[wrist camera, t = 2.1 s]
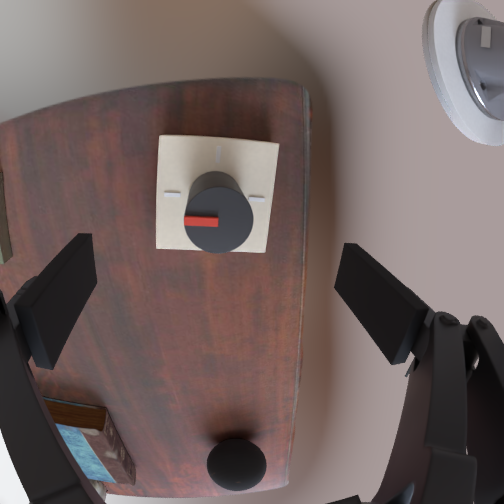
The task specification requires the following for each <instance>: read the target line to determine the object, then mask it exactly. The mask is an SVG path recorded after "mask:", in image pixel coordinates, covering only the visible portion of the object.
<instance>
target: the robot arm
mask: <svg viewBox="0 0 504 504" xmlns="http://www.w3.org/2000/svg"><path fill="white" fill-rule="evenodd" d="M455 47H456V56H457V62H458V66H459V70H460V73H461V76H462V79H463V82H464V84H465V87H466V89H467V91H468V93H469V95H470V97H471V98H472V100H473V102H474V103H475V105H476V106H477V107H478V108H479V110H480V111H481V112H482V113H483V114H484V115H486V116H487V117H489V118H491V119H494V120H501V121H504V23H503V22H500V21H496V20H491V19H487V18H482V17H474V18H469V19H465V20H464V21H462V22H461V23H460V25H459V26H458V29H457V32H456V39H455ZM96 284H97V276H96V269H95V261H94V252H93V242H92V234H87V233H78V234H77V235H76V236H75V237H74V238H73V239H72V240H71V241H70V242H69V243H68V244H67V245H66V246H65V247H64V248H63V249H62V250H61V251H60V253H59V254H58V255H57V256H56V257H55V258H54V259H53V260H52V261H51V262H50V263H49V264H48V265H47V266H46V267H45V269H44V270H43V271H42V272H41V273H40V274H39V275H38V276H34V277H33V278H31V279H30V280H28V281H26V282H25V284H24V285H23V286H22V287H21V289H19V290H18V291H17V293H16V295H14V296H13V297H12V298H11V300H10V301H9V302H8V303H7V304H6V303H5V300H4V297H3V293H2V291H1V290H0V429H1V433H2V436H3V439H4V442H5V444H6V447H7V450H8V452H9V455H10V458H11V460H12V463H13V465H14V467H15V470H16V472H17V474H18V477H19V479H20V481H21V483H22V485H23V488H24V490H25V492H26V494H27V496H28V498H29V501H30V503H29V504H106V503H105V502H104V500H103V499H102V498H101V496H100V495H99V494H98V492H97V491H96V489H95V488H94V487H93V485H92V484H91V482H90V481H89V480H88V478H87V477H86V475H85V474H84V472H83V471H82V469H81V467H80V466H79V464H78V463H77V461H76V460H75V458H74V456H73V455H72V453H71V451H70V450H69V448H68V446H67V444H66V443H65V441H64V439H63V437H62V436H61V434H60V432H59V430H58V428H57V426H56V424H55V422H54V420H53V418H52V416H51V414H50V412H49V410H48V408H47V406H46V404H45V402H44V400H43V397H42V395H41V393H40V390H39V388H38V386H37V383H36V381H35V379H34V376H33V373H32V371H31V368H30V366H29V364H28V361H29V359H30V357H31V355H32V357H33V360H34V362H35V364H36V367H40V368H45V369H50V370H53V369H54V367H55V364H56V362H57V360H58V358H59V356H60V353H61V351H62V349H63V347H64V345H65V343H66V341H67V339H68V337H69V335H70V333H71V331H72V329H73V327H74V325H75V323H76V321H77V319H78V317H79V315H80V313H81V311H82V310H83V308H84V306H85V304H86V302H87V300H88V298H89V297H90V295H91V293H92V291H93V290H94V288H95V286H96ZM334 288H335V290H336V291H337V292H338V293H339V295H340V296H341V297H342V299H343V300H344V301H345V303H346V304H347V305H348V307H349V308H350V309H351V310H352V312H353V313H354V315H355V316H356V317H357V319H358V320H359V321H360V323H361V324H362V325H363V327H364V328H365V329H366V331H367V332H368V333H369V335H370V336H371V338H372V339H373V340H374V342H375V343H376V344H377V346H378V347H379V348H380V350H381V351H382V353H383V354H384V355H385V357H386V358H387V360H388V361H389V362H390V364H391V365H395V364H400V363H405V361H406V359H407V357H408V355H409V353H410V351H411V352H412V353H413V354H414V356H415V357H414V360H413V361H412V363H411V365H410V367H409V369H408V371H407V373H406V375H405V377H407V376H408V374H410V375H409V381H408V386H407V392H406V397H405V402H404V406H403V411H402V415H401V419H400V423H399V428H398V431H397V435H396V439H395V443H394V446H393V449H392V453H391V456H390V460H389V463H388V466H387V469H386V472H385V475H384V478H383V481H382V483H381V486H380V488H379V491H378V492H377V494H376V495H375V497H374V498H373V499H372V501H371V502H361V501H360V499H359V496H358V495H355V496H352V497H349V498H345V499H342V500H339V501H335V502H331V503H327V504H473V502H474V504H504V344H503V342H502V340H501V339H500V337H499V335H498V333H497V332H496V330H495V328H494V327H493V325H492V324H491V323H490V322H489V321H488V320H487V319H486V318H484V317H482V316H472V318H471V320H470V322H469V324H468V325H462V324H460V322H459V320H458V319H457V318H456V317H454V316H453V315H451V314H449V313H446V312H436V313H435V312H434V311H433V310H432V309H431V308H430V307H429V306H428V305H427V304H426V303H425V302H424V301H423V300H421V299H420V298H419V297H418V296H417V295H416V294H415V293H414V292H413V291H412V290H411V289H409V288H408V287H406V286H405V285H404V284H403V283H401V282H400V281H399V280H398V279H397V278H396V277H395V276H393V275H392V274H391V273H390V272H389V271H388V270H387V269H386V268H384V267H383V266H382V265H381V264H380V263H379V262H377V261H376V260H375V259H374V258H373V257H372V256H371V255H369V254H368V253H367V252H366V251H365V250H363V249H362V248H361V247H360V246H359V245H358V244H354V243H344V248H343V252H342V256H341V261H340V266H339V269H338V274H337V278H336V282H335V286H334ZM478 357H479V362H478V365H477V367H476V369H475V367H474V364H475V363H476V361H477V359H478ZM466 446H467V452H468V455H467V454H466Z"/></svg>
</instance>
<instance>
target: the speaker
mask: <svg viewBox="0 0 504 504" xmlns="http://www.w3.org/2000/svg"><path fill="white" fill-rule="evenodd" d="M207 469H208V473H209V475H210V477H211V478H212V480H213V481H214V482H215V483H216V484H218V485H219V486H221V487H223V488H225V489H228V490H232V491H242V490H247V489H250V488H252V487H254V486H255V485H257V484H258V483H259V482H260V481H261V480H262V478H263V477H264V475H265V472H266V459H265V456H264V454H263V452H262V451H261V450H260V448H259V447H258V446H256V445H255V444H253V443H252V442H250V441H247V440H243V439H229V440H225V441H223V442H221V443H219V444H218V445H216V446H215V447H214V448H213V449H212V451H211V452H210V454H209V456H208V459H207Z"/></svg>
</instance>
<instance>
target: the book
mask: <svg viewBox="0 0 504 504" xmlns="http://www.w3.org/2000/svg"><path fill="white" fill-rule="evenodd" d="M43 400H44V402H45V404H46V406H47V408H48V410H49V412H50V414H51V416H52V418H53V420H54V422H55V424H56V426H57V428H58V430H59V432H60V434H61V436H62V437H63V439H64V441H65V443H66V444H67V446H68V448H69V450H70V451H71V453H72V455H73V456H74V458H75V460H76V461H77V463H78V464H79V466H80V467H81V469H82V471H83V472H84V474H85V475H86V477H87V478H88V479H93V480H99V481H105V482H112V483H121V484H131V485H133V486H134V485H135V482H136V469H135V466H134V465H133V463H132V461H131V459H130V457H129V455H128V453H127V451H126V449H125V448H124V446H123V444H122V442H121V440H120V437H119V435H118V433H117V431H116V429H115V427H114V425H113V423H112V420H111V418H110V416H109V414H108V411H107V409H106V408H105V407H96V406H90V405H84V404H78V403H72V402H66V401H61V400H56V399H51V398H46V397H43Z"/></svg>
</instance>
